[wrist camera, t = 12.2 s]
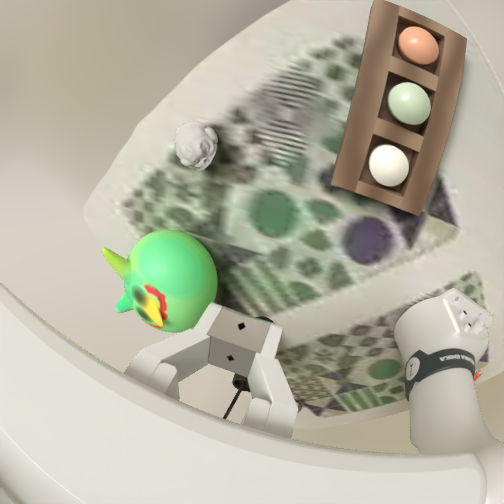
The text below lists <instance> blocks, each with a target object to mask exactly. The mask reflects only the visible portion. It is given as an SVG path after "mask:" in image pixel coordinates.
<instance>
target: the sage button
mask: <svg viewBox="0 0 504 504" xmlns="http://www.w3.org/2000/svg"><path fill="white" fill-rule="evenodd" d="M386 104H387V108H388V110H389V112H390V113H391V115H392V116H393V117H394V118H395V119H397V120H398V121H400V122H403V123H407V124H411V125H417V124H421V123H423V122H424V121H425V120H426V119H427V118H428V116H429V114H430V110H431V105H430V100H429V98H428V96H427V94H426V92H425V91H424V90H423V89H422V88H421V87H419V86H418V85H416V84H413V83H408V82H407V83H401V84H398V85H395V86H393V87H392V88H391V89H390V90H389V92H388V94H387V97H386Z"/></svg>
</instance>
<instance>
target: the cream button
mask: <svg viewBox="0 0 504 504" xmlns="http://www.w3.org/2000/svg"><path fill="white" fill-rule="evenodd" d="M368 167H369V170H370V172H371V173H372V175H373V177H374V178H375V180H376V181H377V182H379V183H380V184H382V185H385V186H396V185H398V184H400V183H401V182H403V181H404V179H405V178H406V176H407V174H408V170H409V164H408V160H407V158H406V156H405V154H404V153H403V152H402V151H401V150H399V149H398V148H396V147H395V146H393V145H391V144H385V143H384V144H379V145H377V146H375V147H374V148H373V149H372V150H371V151H370V153H369V156H368Z"/></svg>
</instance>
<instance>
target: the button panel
mask: <svg viewBox="0 0 504 504" xmlns="http://www.w3.org/2000/svg"><path fill="white" fill-rule="evenodd" d="M408 27H419V28H422V29H424V30H426V31H427V32H429V33H430V34H431V35H432V36H433V37H434V39H435V40H436V42H437V44H438V48H439V54H438V57H437V59H436V60H435V61H434V62H432V63H429V64H427V65H424V66H415V65H412V64H410V63H408V62H407V61H405V60H404V59H403V58H402V57H401V55H400V54H399V52H398V50H397V46H396V41H397V38H398V36H399V35H400V34H401V33H402V32H403V31H404V30H405V29H406V28H408ZM466 43H467V39H466V38H465V37H463V36H461V35H460V34H458V33H456V32H454V31H452V30H451V29H449V28H447V27H445V26H443V25H441V24H439V23H437V22H435V21H433V20H431V19H429V18H427V17H425V16H422V15H420V14H418V13H416V12H413V11H411V10H409V9H406V8H404V7H401V6H398V5H396V4H393V3H390V2H387V1H385V0H374V1H373V4H372V7H371V10H370V16H369V22H368V27H367V33H366V38H365V43H364V48H363V53H362V58H361V62H360V67H359V72H358V76H357V80H356V85H355V89H354V93H353V97H352V102H351V106H350V110H349V114H348V118H347V122H346V125H345V129H344V133H343V137H342V140H341V144H340V148H339V151H338V155H337V158H336V162H335V165H334V169H333V172H332V178H331V185H334V186H337V187H341V188H344V189H347V190H350V191H353V192H355V193H358V194H361V195H364V196H367V197H370V198H373V199H375V200H378V201H381V202H383V203H386V204H389V205H391V206H394V207H397V208H399V209H402V210H404V211H407V212H409V213H412V214H414V215H417V216H419V215H420V213H421V210H422V208H423V206H424V203H425V201H426V198H427V196H428V193H429V191H430V188H431V185H432V183H433V180H434V177H435V175H436V172H437V169H438V166H439V163H440V160H441V157H442V154H443V151H444V148H445V144H446V141H447V138H448V134H449V131H450V127H451V123H452V119H453V116H454V112H455V107H456V103H457V99H458V94H459V89H460V84H461V78H462V73H463V66H464V60H465V52H466ZM407 82H408V83H413V84H416V85H418V86H419V87H421V88H422V89H423V90H424V91H425V92H426V94H427V96H428V98H429V100H430V105H431V110H430V114H429V116H428V118H427V119H426V120H425V121H424V122H423V123H421V124H417V125H411V124H407V123H403V122H400V121H398V120H397V119H395V118H394V117H393V116H392V115H391V113H390V112H389V110H388V108H387V104H386V97H387V94H388V92H389V90H390V89H391V88H392V87H393V86H395V85H398V84H401V83H407ZM384 143H385V144H391V145H393V146H395V147H396V148H398V149H399V150H401V151H402V152H403V153H404V154H405V156H406V158H407V160H408V164H409V170H408V174H407V176H406V178H405V179H404V181H403V182H401V183H400V184H398V185H396V186H385V185H382V184H380V183H379V182H377V181H376V180H375V178H374V177H373V175H372V173H371V172H370V170H369V167H368V156H369V153H370V151H371V150H372V149H373V148H374V147H375V146H377V145H379V144H384Z"/></svg>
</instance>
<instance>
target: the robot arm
mask: <svg viewBox="0 0 504 504" xmlns="http://www.w3.org/2000/svg"><path fill="white" fill-rule="evenodd" d="M492 322H493V317H492V315H491V314H490V313H489V312H488V311H486V310H485V309H484V308H482V307H481V306H480V305H478V304H477V303H476V302H474V301H473V300H472V299H470V298H469V297H467V296H466V295H465V294H463V293H462V292H460V291H459V290H458V289H456V288H452V289H450V290H448V291H446V292H445V293H443V294H441V295H440V296H437V297H434V298H430V299H426V300H423V301H421V302H419V303H417V304H415V305H413V306H412V307H410V308H409V309H408V310H407V311H406V312H405V313H403V315H402V316H401V317H400V318H399V320H398V321H397V323H396V325H395V328H394V339H395V341H396V343H397V346H398V348H399V350H400V353H401V358H402V360H403V363H404V367H405V388H406V397H407V400H408V401H409V408H410V440H411V442H412V444H413V445H414V446H415V447H416V448H418V450H419V452H420V454H394V453H379V452H367V451H358V450H350V449H343V448H336V447H329V446H324V445H318V444H313V443H308V442H303V441H299V440H294V439H291V436H292V432H293V428H294V424H295V420H296V416H297V412H298V407H297V405H296V402H295V400H294V397H293V395H292V392H291V390H290V387H289V385H288V382H287V380H286V377H285V375H284V372H283V370H282V367H281V365H280V362H279V360H278V359H275V356H276V353H277V349H278V346H279V342H280V339H281V335H282V332H283V326H281V325H278V324H274V323H271V322H268V321H265V320H262V319H259V318H255V317H252V316H249V315H245V314H243V313H240V312H237V311H235V310H232V309H229V308H227V307H223V306H221V305H218V304H216V303H213V302H211V303H210V304H209V305H208V307H207V309H206V310H205V312H204V313H203V315H202V317H201V318H200V320H199V322H198V323H197V325H196V326H195V328H194V330H193V329H188V330H185V331H183V332H181V333H179V334H176V335H174V336H172V337H169V338H167V339H165V340H162V341H160V342H157V343H155V344H153V345H150V346H148V347H145V348H143V349H141V350H140V351H139V352H138V354H137V355H136V356H135V358H134V360H133V361H132V362H131V363H130V365H129V366H128V368H127V369H126V370H125V372H124V373H122V372H120V371H119V370H117V369H115V368H113V367H112V366H110V365H108V364H107V363H105V362H103V361H102V360H100V359H99V358H97V357H95V356H94V355H92V354H91V353H89V352H88V351H86V350H85V349H83V348H82V347H80V346H78V345H77V344H75V343H74V342H73V341H71V340H70V339H68V338H67V337H66V336H64V335H63V334H62V333H60V332H59V331H57V330H56V329H55V328H53V327H52V326H51V325H49V324H48V323H47V322H46V321H44V320H43V319H42V318H41V317H39V316H38V315H37V314H36V313H34V312H33V311H32V310H31V309H30V308H29V307H27V306H26V305H25V304H24V303H23V302H22V301H21V300H19V299H18V298H17V297H16V296H15V295H14V294H13V293H12V292H11V291H9V289H8V288H6V287H5V286H4V285H3V284H1V283H0V504H504V442H501V441H499V440H497V439H496V438H495V437H494V436H493V435H492V434H491V432H490V431H489V429H488V427H487V426H486V424H485V421H484V419H483V416H482V414H481V410H480V406H479V401H478V397H477V392H476V388H475V384H474V381H475V380H476V379H477V378H478V377H479V376H480V375H481V374H480V375H478V374H479V372H480V370H478V371H477V372H476V373H475V364H476V363H477V362H478V361H479V359H480V358H481V357H482V356H483V354H484V353H485V351H486V349H487V347H488V344H489V337H488V334H487V333H488V332H489V330H490V328H491V325H492ZM208 363H209V364H211V365H214V366H217V367H220V368H223V369H226V370H229V371H231V372H234V373H236V374H239V375H242V376H245V377H247V379H248V383H249V387H250V391H251V395H252V401H251V403H250V405H249V407H248V410H247V412H246V414H245V416H244V418H243V420H242V423H241V425H240V424H237V423H234V422H231V421H228V420H226V419H223V418H220V417H217V416H215V415H212V414H209V413H207V412H204V411H202V410H199V409H197V408H194V407H192V406H189V405H187V404H185V403H182V402H180V401H179V399H180V398H179V388H178V382H180V381H181V380H183V379H185V378H186V377H188V376H190V375H191V374H193V373H195V372H196V371H198V370H199V369H201V368H203V367H204V366H206V365H207V364H208ZM477 375H478V376H477ZM476 376H477V377H476Z"/></svg>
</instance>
